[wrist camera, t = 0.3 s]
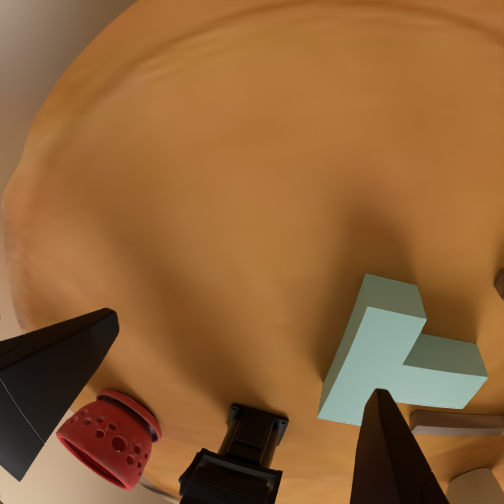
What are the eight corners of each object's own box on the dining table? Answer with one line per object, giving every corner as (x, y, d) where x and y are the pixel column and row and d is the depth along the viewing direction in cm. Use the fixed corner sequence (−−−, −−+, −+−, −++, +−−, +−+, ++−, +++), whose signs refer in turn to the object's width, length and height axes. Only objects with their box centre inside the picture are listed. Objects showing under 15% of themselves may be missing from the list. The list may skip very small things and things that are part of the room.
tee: (435, 402, 23) (438, 434, 20) (323, 383, 26) (316, 417, 22) (498, 305, 18) (515, 336, 14) (365, 273, 20) (367, 306, 17)
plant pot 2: (130, 380, 35) (80, 446, 25) (183, 439, 39) (149, 500, 29) (83, 379, 41) (41, 428, 30) (130, 431, 44) (98, 479, 34)
